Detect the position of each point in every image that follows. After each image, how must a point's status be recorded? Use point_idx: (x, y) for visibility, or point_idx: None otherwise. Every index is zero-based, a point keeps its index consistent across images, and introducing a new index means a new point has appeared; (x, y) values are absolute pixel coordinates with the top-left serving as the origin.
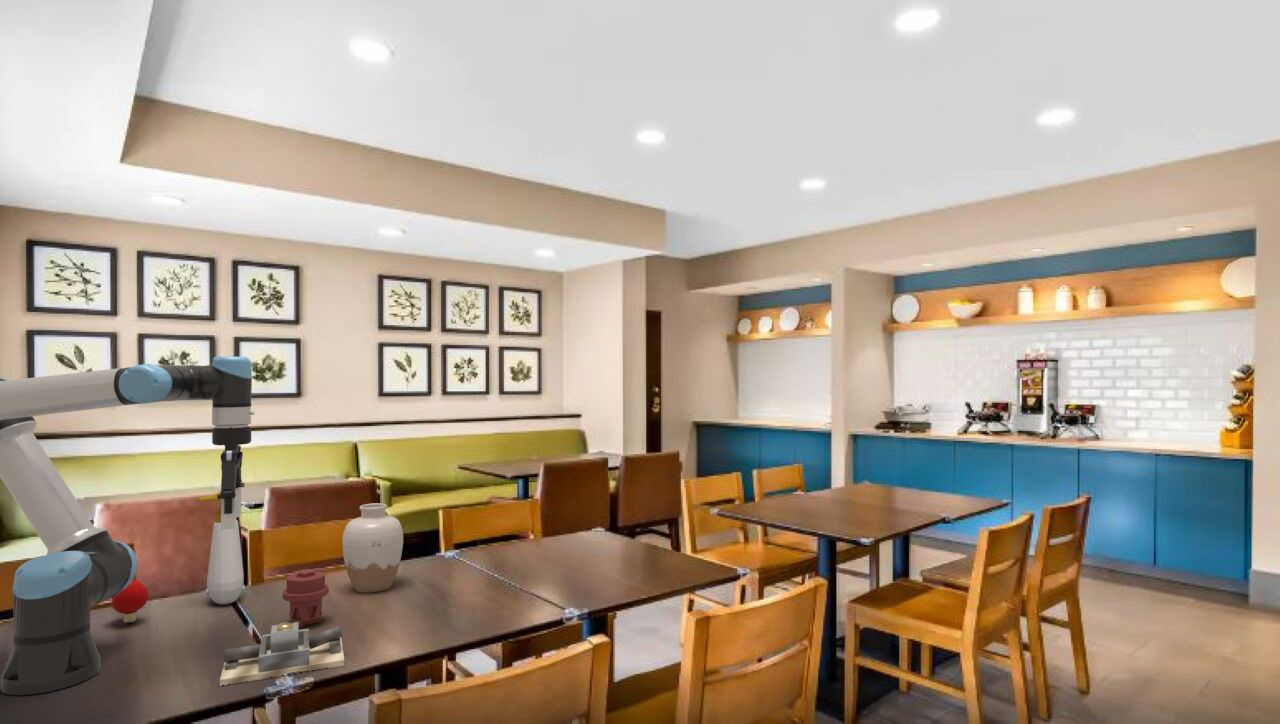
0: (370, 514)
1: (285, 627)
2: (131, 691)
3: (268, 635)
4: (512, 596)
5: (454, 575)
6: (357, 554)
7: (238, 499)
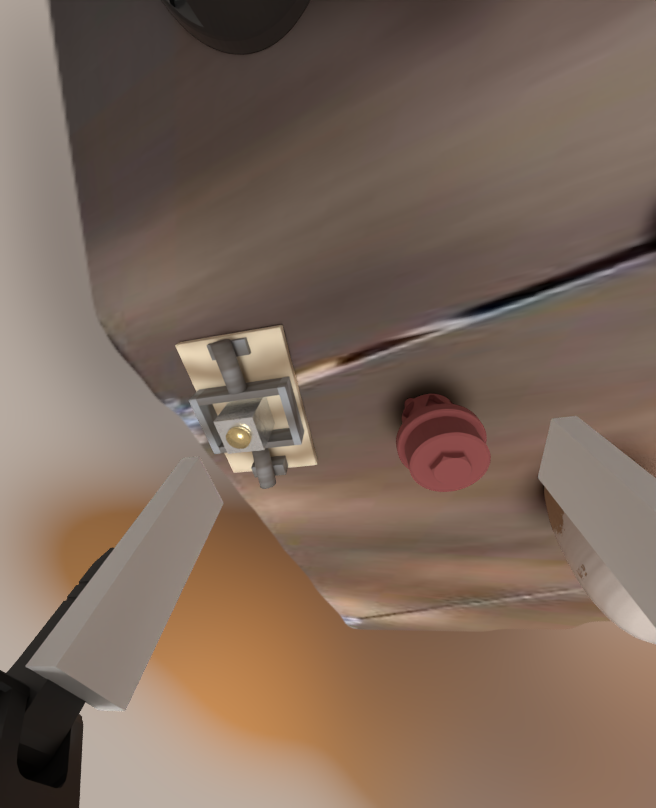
0: None
1: (227, 440)
2: (159, 198)
3: (281, 396)
4: (422, 597)
5: (563, 566)
6: None
7: (632, 579)
